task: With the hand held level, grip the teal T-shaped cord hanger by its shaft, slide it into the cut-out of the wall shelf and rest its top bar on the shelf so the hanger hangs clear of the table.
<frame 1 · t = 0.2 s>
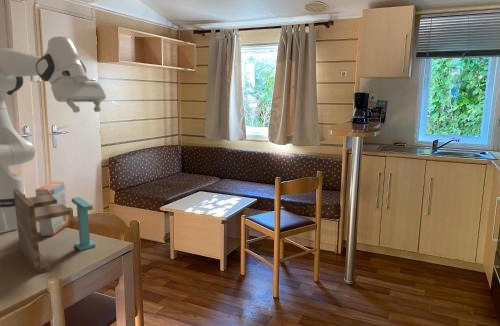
hand: (87, 111, 142), 54 cm above the table, tool tilted 25°, fingers open, 8 cm apart
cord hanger: (85, 246, 155), on the table
cracker box: (54, 230, 173), on the table
wall shelf: (47, 255, 146), on the table
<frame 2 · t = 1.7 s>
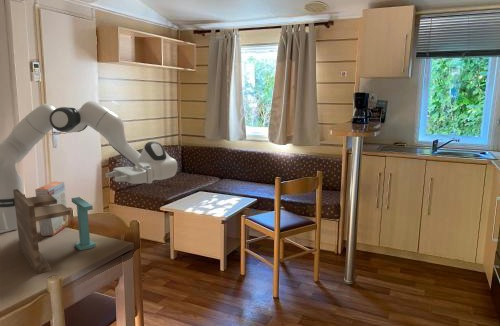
hand: (110, 177, 158), 26 cm above the table, tool horizontal, fingers open, 8 cm apart
nothing on the table moved.
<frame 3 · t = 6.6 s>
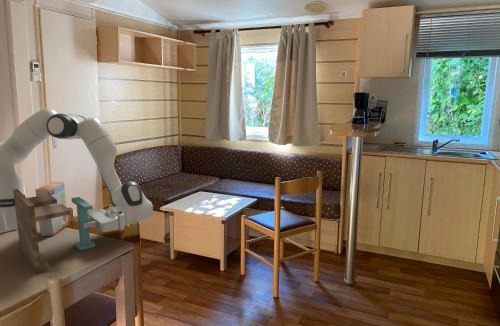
hand: (81, 224, 153), 10 cm above the table, tool horizontal, fingers closed on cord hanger, 3 cm apart
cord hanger: (85, 246, 155), on the table, touching gripper
everything else where it was.
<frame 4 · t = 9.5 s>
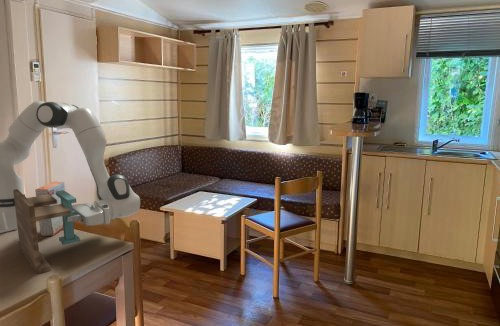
hand: (65, 217, 149), 13 cm above the table, tool horizontal, fingers closed on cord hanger, 3 cm apart
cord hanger: (69, 240, 151), point 4 cm above the table, touching gripper
everything else where it was.
when the fingers open (13 cm above the table, at t = 12.2 s): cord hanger stays where it is, resting on wall shelf.
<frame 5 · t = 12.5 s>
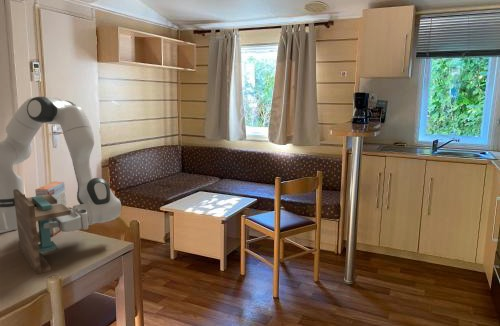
hand: (41, 223, 143), 13 cm above the table, tool horizontal, fingers open, 5 cm apart
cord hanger: (46, 248, 146), point 3 cm above the table, touching wall shelf
everything else where it was.
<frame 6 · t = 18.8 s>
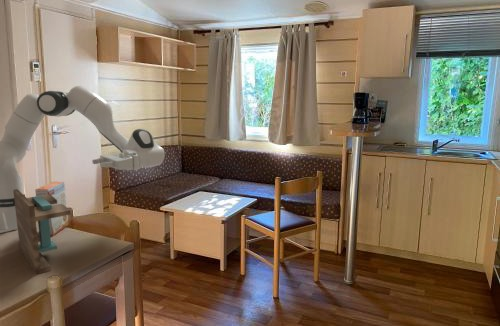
hand: (96, 163, 158), 32 cm above the table, tool horizontal, fingers open, 8 cm apart
nothing on the table moved.
at the end: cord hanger 0.0 cm off-centre on the wall shelf, point 3.0 cm above the wall shelf's base; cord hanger touching wall shelf; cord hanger tilted 0° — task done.
